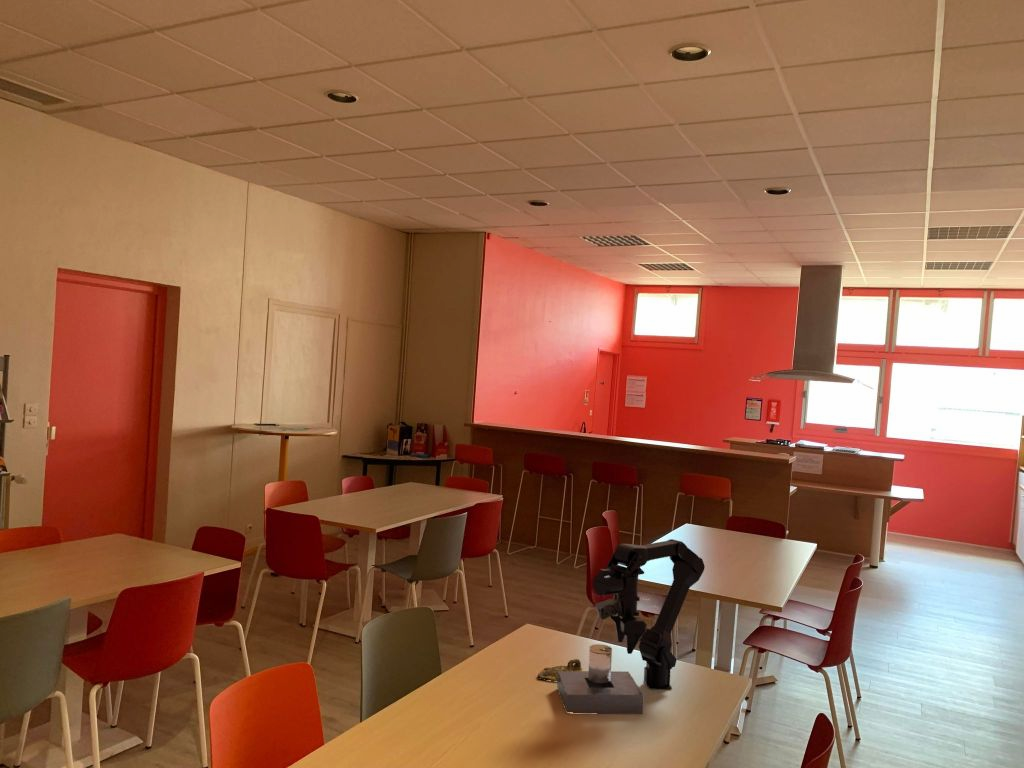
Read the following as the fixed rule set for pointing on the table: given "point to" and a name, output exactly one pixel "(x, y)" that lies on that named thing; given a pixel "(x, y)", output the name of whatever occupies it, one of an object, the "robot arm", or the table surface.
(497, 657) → the table surface
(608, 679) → the end cover
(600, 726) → the table surface
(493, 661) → the table surface
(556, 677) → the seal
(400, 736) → the table surface
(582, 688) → the housing
